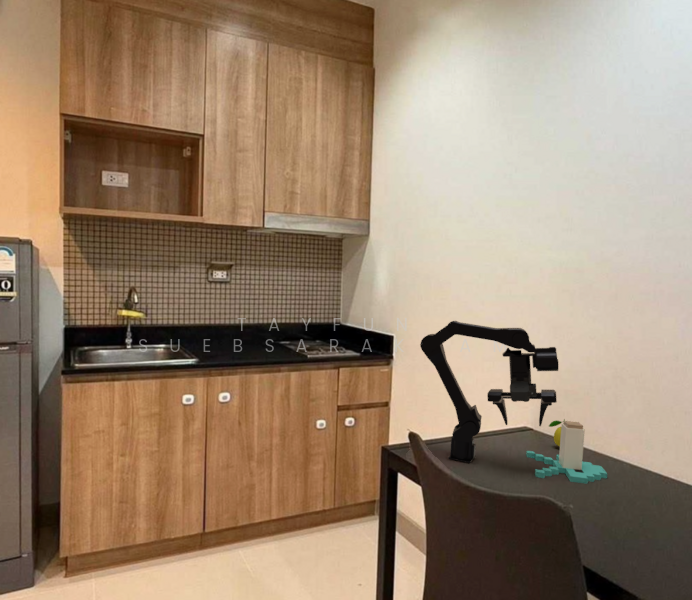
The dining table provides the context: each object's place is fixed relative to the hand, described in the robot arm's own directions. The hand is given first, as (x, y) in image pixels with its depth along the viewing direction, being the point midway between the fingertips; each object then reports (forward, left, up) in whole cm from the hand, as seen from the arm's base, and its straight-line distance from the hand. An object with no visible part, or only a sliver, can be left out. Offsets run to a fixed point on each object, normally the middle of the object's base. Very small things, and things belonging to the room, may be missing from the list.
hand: (523, 425), depth 153 cm
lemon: (+10, +28, -13) cm, 32 cm away
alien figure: (+12, +6, -13) cm, 19 cm away
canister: (+13, +6, -11) cm, 18 cm away
